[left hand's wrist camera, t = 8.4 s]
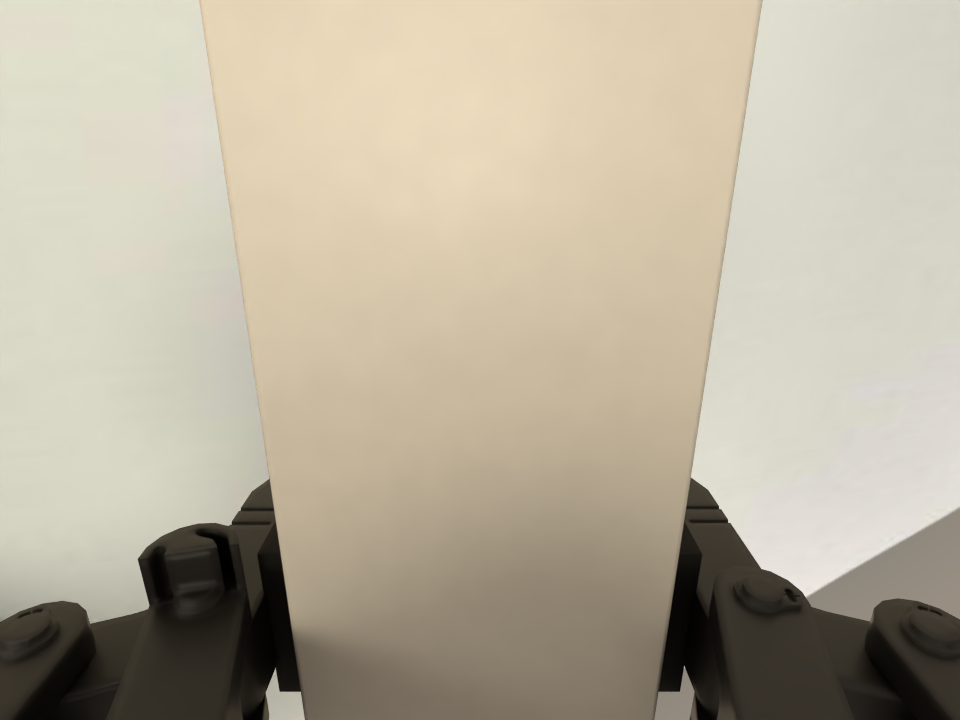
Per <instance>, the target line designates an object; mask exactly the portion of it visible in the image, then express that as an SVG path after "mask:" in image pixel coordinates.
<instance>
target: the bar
mask: <svg viewBox="0 0 960 720" xmlns="http://www.w3.org/2000/svg"><path fill="white" fill-rule="evenodd" d="M199 1H200V8H201V15H202V22H203V29H204V35H205V42H206V49H207V56H208V63H209V69H210V76H211V83H212V90H213V97H214V103H215V110H216V117H217V124H218V131H219V137H220V144H221V151H222V158H223V165H224V171H225V178H226V185H227V192H228V199H229V205H230V212H231V219H232V226H233V233H234V239H235V246H236V253H237V260H238V267H239V273H240V280H241V287H242V294H243V301H244V307H245V314H246V321H247V328H248V335H249V341H250V348H251V355H252V362H253V369H254V375H255V382H256V389H257V396H258V403H259V409H260V416H261V423H262V430H263V437H264V443H265V450H266V457H267V464H268V471H269V477H270V484H271V491H272V498H273V505H274V511H275V518H276V525H277V532H278V539H279V545H280V552H281V559H282V566H283V573H284V579H285V586H286V593H287V600H288V607H289V613H290V620H291V627H292V634H293V641H294V647H295V654H296V661H297V668H298V675H299V681H300V688H301V695H302V702H303V709H304V715H305V720H654V718H655V711H656V704H657V697H658V691H659V684H660V678H661V671H662V664H663V658H664V651H665V644H666V638H667V631H668V624H669V618H670V611H671V605H672V598H673V591H674V585H675V578H676V571H677V565H678V558H679V551H680V545H681V538H682V531H683V525H684V518H685V511H686V505H687V498H688V492H689V485H690V478H691V472H692V465H693V458H694V452H695V445H696V438H697V432H698V425H699V418H700V412H701V405H702V399H703V392H704V385H705V379H706V372H707V365H708V359H709V352H710V345H711V339H712V332H713V325H714V319H715V312H716V305H717V299H718V292H719V286H720V279H721V272H722V266H723V259H724V252H725V246H726V239H727V232H728V226H729V219H730V212H731V206H732V199H733V192H734V186H735V179H736V173H737V166H738V159H739V153H740V146H741V139H742V133H743V126H744V119H745V113H746V106H747V99H748V93H749V86H750V79H751V73H752V66H753V60H754V53H755V46H756V40H757V33H758V26H759V20H760V13H761V6H762V0H199Z"/></svg>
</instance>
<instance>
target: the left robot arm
mask: <svg viewBox="0 0 960 720" xmlns="http://www.w3.org/2000/svg"><path fill="white" fill-rule="evenodd" d="M138 562H139V566H140V569H141V573H142V577H143V581H144V585H145V589H146V593H147V597H148V601H149V605H150V606H149V609H148V610H145V611H141V612H138V613H135V614H131V615H127V616H123V617H118V618H114V619H110V620H105V621H101V622H97V623H92V624H90V622H89V619H88V615H87V612H86V610H85V609H84V608H82V607H81V606H80V605H79V604H78V603H72V602H66V601H58V602H51V603H44V604H40V605H37V606H35V607H32V608H28V609H26V610H23V611H20V612H18V613H16V614H15V615H13V616H11V617H9V618H7V619H5V620H4V621H2V622H0V720H269V711H268V704H267V698H266V690H267V688H268V685H269V683H270V680H271V678H272V675H273V673H274V670H275V668H276V672H277V678H278V684H279V690H280V692H301V688H300V681H299V675H298V668H297V661H296V654H295V647H294V641H293V634H292V627H291V620H290V613H289V607H288V600H287V593H286V586H285V579H284V573H283V566H282V559H281V552H280V545H279V539H278V532H277V525H276V518H275V511H274V505H273V498H272V491H271V484H270V479H269V480H267V481H266V482H265V483H263V484H262V485H261V486H259V487H258V488H256V489H255V490H254V491H252V492H251V494H250V495H249V497H248V498H247V500H246V501H245V503H244V504H243V506H242V507H241V511H239V512H238V513H237V515H236V516H235V518H234V519H233V521H232V525H229V526H225V525H221V524H217V523H204V524H195V525H191V526H187V527H183V528H179V529H177V530H175V531H173V532H170V533H168V534H166V535H164V536H162V537H160V538H159V539H157V540H156V541H155V542H153V543H152V544H151V545H149V546H148V547H147V548H146V549H145V550H144V552H143V553H142V554H141V556H140V557H139V558H138ZM684 666H685V668H686V671H687V673H688V676H689V678H690V681H691V683H692V686H693V688H694V691H695V692H694V698H693V704H692V709H691V715H690V720H960V619H958V618H956V617H954V616H952V615H950V614H949V613H947V612H945V611H943V610H941V609H939V608H936V607H933V606H930V605H927V604H924V603H921V602H918V601H912V600H905V599H891V600H885V601H882V602H881V603H880V604H878V605H877V606H876V607H875V608H874V610H873V614H872V617H871V620H870V622H869V621H865V620H860V619H856V618H852V617H848V616H843V615H839V614H835V613H830V612H826V611H823V610H820V609H816V608H813V607H811V605H810V604H809V602H808V601H807V599H806V597H805V596H804V594H803V593H802V592H801V591H800V590H799V589H798V588H797V587H795V586H794V585H793V584H792V583H790V582H789V581H788V580H786V579H784V578H782V577H780V576H778V575H776V574H774V573H772V572H770V571H766V570H763V569H761V568H760V566H759V565H758V563H757V562H756V561H755V559H754V558H753V556H752V555H751V553H750V552H749V550H748V549H747V547H746V546H745V544H744V543H743V541H742V540H741V538H740V537H739V535H738V534H737V532H736V531H735V529H734V528H733V526H732V525H731V523H728V519H727V517H726V516H725V515H724V513H723V512H722V510H721V509H719V506H718V504H717V503H716V501H715V500H714V498H713V497H712V495H711V494H710V492H709V491H708V490H707V489H706V488H705V487H703V486H702V485H700V484H699V483H698V482H696V481H695V480H694V479H692V478H690V485H689V492H688V498H687V505H686V511H685V518H684V525H683V531H682V538H681V545H680V551H679V558H678V565H677V571H676V578H675V585H674V591H673V598H672V605H671V611H670V618H669V624H668V631H667V638H666V644H665V651H664V658H663V664H662V671H661V678H660V684H659V691H658V692H679V691H680V687H681V681H682V675H683V669H684Z"/></svg>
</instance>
